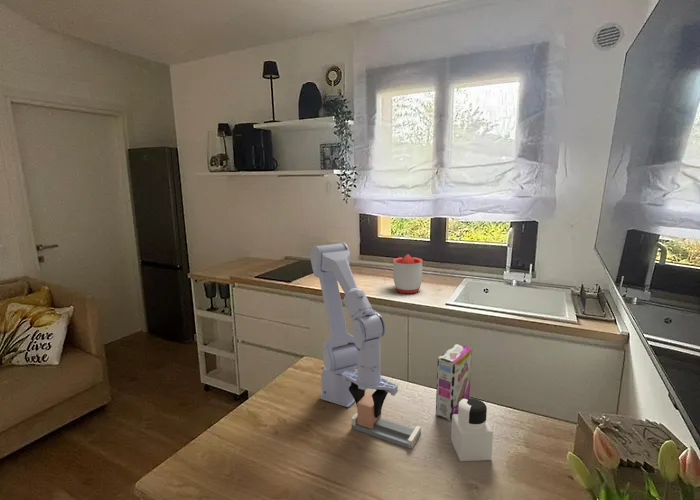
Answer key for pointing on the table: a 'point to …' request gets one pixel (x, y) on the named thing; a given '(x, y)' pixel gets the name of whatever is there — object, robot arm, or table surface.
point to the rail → (390, 431)
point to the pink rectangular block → (366, 411)
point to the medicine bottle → (472, 431)
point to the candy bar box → (453, 380)
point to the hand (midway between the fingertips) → (369, 412)
